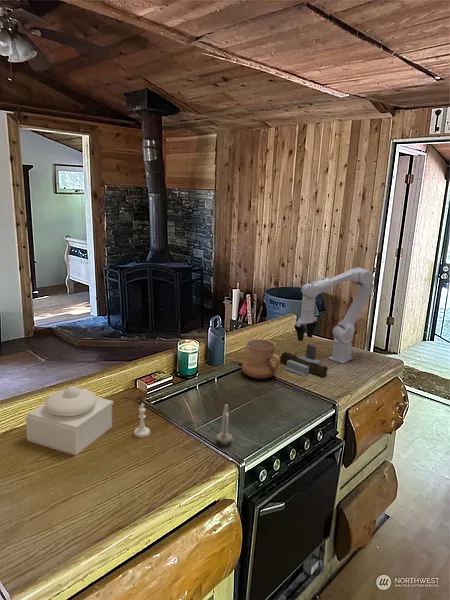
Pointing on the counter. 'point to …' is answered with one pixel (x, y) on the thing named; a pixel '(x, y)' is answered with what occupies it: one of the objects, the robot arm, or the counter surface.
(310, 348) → the free jaw
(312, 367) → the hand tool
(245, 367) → the ceramic jug
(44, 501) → the counter surface
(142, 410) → the chess piece
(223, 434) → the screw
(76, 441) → the butter dish
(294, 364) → the fixed jaw
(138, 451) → the counter surface
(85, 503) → the counter surface
